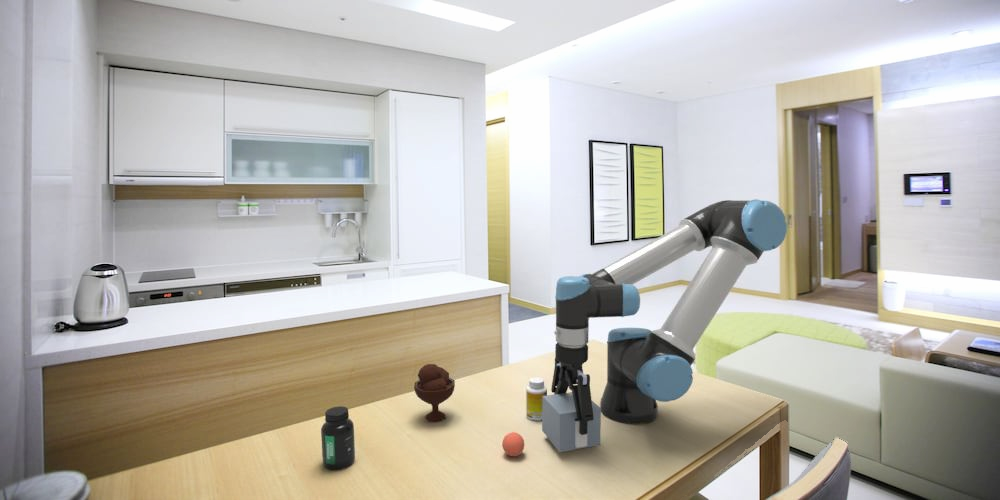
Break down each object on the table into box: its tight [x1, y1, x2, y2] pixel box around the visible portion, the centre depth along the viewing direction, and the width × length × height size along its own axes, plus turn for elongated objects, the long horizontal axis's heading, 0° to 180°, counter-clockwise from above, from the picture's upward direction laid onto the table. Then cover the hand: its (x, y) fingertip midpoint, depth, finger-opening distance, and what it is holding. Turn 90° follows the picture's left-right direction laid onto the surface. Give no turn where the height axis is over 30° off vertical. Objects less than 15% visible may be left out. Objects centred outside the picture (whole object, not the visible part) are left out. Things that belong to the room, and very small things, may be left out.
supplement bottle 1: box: [320, 405, 356, 471], centre depth 103 cm, size 7×7×12 cm
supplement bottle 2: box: [525, 377, 548, 422], centre depth 124 cm, size 6×6×10 cm
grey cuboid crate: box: [541, 391, 602, 453], centre depth 110 cm, size 10×10×9 cm
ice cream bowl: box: [413, 363, 456, 423], centre depth 124 cm, size 11×11×15 cm
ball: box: [501, 432, 525, 457], centre depth 106 cm, size 5×5×5 cm
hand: (570, 434), depth 110 cm, fingers closed on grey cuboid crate, 10 cm apart
